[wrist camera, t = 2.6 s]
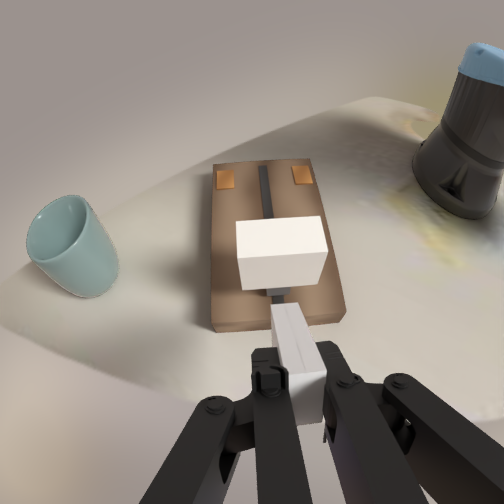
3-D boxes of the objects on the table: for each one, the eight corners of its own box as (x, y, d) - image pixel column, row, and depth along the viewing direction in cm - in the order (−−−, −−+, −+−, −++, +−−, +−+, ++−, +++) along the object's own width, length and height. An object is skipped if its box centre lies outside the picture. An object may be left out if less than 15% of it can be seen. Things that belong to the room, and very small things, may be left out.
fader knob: (307, 267, 28) (320, 215, 21) (312, 297, 26) (328, 251, 20) (242, 272, 28) (235, 221, 21) (244, 303, 26) (237, 258, 20)
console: (307, 175, 39) (309, 157, 36) (339, 322, 29) (347, 310, 26) (216, 181, 39) (213, 163, 36) (216, 332, 29) (211, 322, 26)
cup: (70, 261, 33) (28, 212, 25) (122, 239, 35) (88, 183, 26) (75, 315, 30) (23, 274, 21) (133, 293, 31) (91, 243, 22)
